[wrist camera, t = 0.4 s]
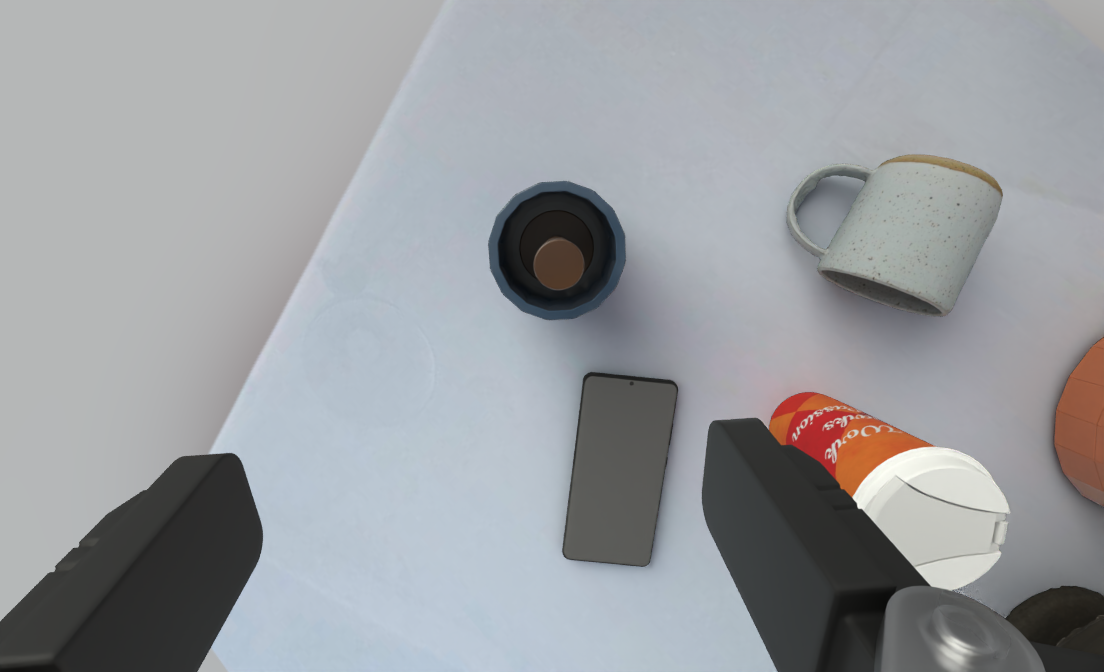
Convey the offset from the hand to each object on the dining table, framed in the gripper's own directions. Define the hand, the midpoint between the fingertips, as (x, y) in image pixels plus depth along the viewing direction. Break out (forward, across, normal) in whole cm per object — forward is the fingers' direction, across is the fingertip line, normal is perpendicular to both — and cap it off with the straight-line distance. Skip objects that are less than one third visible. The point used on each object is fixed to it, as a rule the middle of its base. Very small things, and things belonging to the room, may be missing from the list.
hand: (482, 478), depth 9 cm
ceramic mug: (+27, -24, +3) cm, 36 cm away
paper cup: (+24, -22, +16) cm, 37 cm away
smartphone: (+25, -8, +19) cm, 32 cm away
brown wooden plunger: (+28, -4, +3) cm, 28 cm away
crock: (+28, -4, +3) cm, 29 cm away
